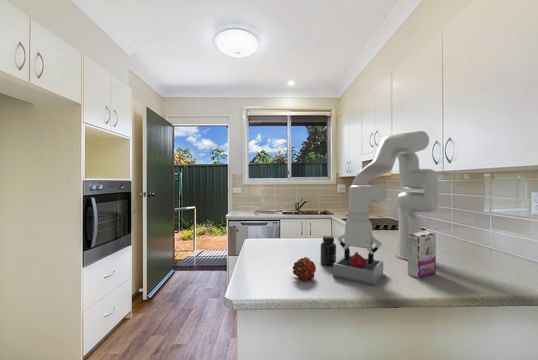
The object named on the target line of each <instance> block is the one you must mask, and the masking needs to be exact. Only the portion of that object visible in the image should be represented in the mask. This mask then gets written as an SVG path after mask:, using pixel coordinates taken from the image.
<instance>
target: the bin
mask: <svg viewBox="0 0 538 360" xmlns="http://www.w3.org/2000/svg"><path fill="white" fill-rule="evenodd" d="M352 256H353V255H350V258H351V257H352ZM350 258H349V259H348V260H345V257H344V256H342V257H340V258H339V259H337V260H336V262H335V263H334V264H333V266H332V277H333V278H336V279H341V280H344V281H348V282H349V281H350V282H354V283H358V284H362V285H365V286H366V285H367V286H371V287H375V285H376V284H377V283H378V281H379V280H380V278H382V276H383V275H384V260H379V259H373V262H372V263H371V264H370V265H369V264H368V257H367V258H366V257H363V258H364V260H365V267H364V268H363V269H360V268H355V267H351V266H350Z"/></svg>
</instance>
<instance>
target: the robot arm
mask: <svg viewBox="0 0 538 360" xmlns="http://www.w3.org/2000/svg"><path fill="white" fill-rule="evenodd" d="M429 144H430V138H429V135H428V133H427V132H426V131H423V130H419V131H410V132H409V131H408V132H402V133H397V134H394V135H393V134H391V135H387V136H384V137H383V138H382V139H381V141H380V143H379V145H378V147H377V150H376V152H375V155H374V157H373V159H372V161H371V163H369V164H368V165H366V166H365V167H364V168H363V169H361V170H360V171H359V172H358V173H357V174H356V176H355V177H354V179H353V181H352V183H351V186H349V188H348V212H345V214H344V216H345V217H348V219H346V220H345V225H344V226H345V227H344V234H343V235H340V236H338V237H337V242H339V244H340V246H341V247H342V249H343V250H344V251H343V252H344V254H343V255H344V256H343V257H345V260H348V259H349V258H350V256H351V251H350V250H351V249H350V247H355V248H363V249H366V250H367V251H368V253H367V258H368V264H369V265H370V264H371V263H372V262H373V260H375V259H374V257H375V256H374V254H375V253H376V252H377V251H378V250H379V249H380V248H381V247H382V244H383V243H382V242H380V241H379V240H378V239H376V238H375V237H374V236H373V235H374V233H373V225H372V222H371V220H370V204H381V203H383V202H384V201H385V199H386V198H387V191H386V188H384V187H383V186H382V185H379V184H368V183H369V182H370V181H372V180H374V179H376V178H378V177H381V176H384V175H386V174H388V173H390V172H391V171H393V167H394V165H395V162H396V159H398V160H397V161H398V166H399V167H398V169H399V170H398V173H399V175H398V176H399V185H400V187H402V188H403V189H404V190H405V189H406V190H423V192H419V191H403V192H400V193H398V195H397V197H396V205H397V206H396V207H397V212H398V251H395V252H394V256H395V257H396V258H398V259H402V260H406V261H408V238H407V234H410V233H416V232H422V221H421V218H420V216H419V215H418V213H422V214H435V213H436V212H437V211H438V210H439V205H440V204H439V201H440V199H439V178H438V174H437V172H436V171H435V170H433V169H430V168H420V161H419V160H420V159H419V156H418V155H417V152H422V151H424V150H426V149H427V148H428V146H429ZM373 243H374V244H376V245H375V246H374V247H373V245H374V244H373Z"/></svg>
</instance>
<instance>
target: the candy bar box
mask: <svg viewBox="0 0 538 360" xmlns="http://www.w3.org/2000/svg"><path fill="white" fill-rule="evenodd" d="M407 238H408V260H407V275H408V276H411V277H413V276H414V277H413V278H417V279H421V278H425V277H429V276H432V275H434V274H435V275H436V274H437V270H436V269H437V268H436V266H437V265H436V264H437V262H436V261H437V259H436V255H437V254H436V232H432V231H427V230H426V231H425V230H424V231H422V230H421V232H416V233H410V234H407Z"/></svg>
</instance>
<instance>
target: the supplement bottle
mask: <svg viewBox="0 0 538 360" xmlns="http://www.w3.org/2000/svg"><path fill="white" fill-rule="evenodd" d="M319 253H320V257H319V260H320V261H319V262H320V265H322V266H324V267H325V266H326V267H333V264H334V263H335V262H336V261H337V244H336V243H335V237H334V236H331V235H324V236H322V242H321V243H320V252H319Z"/></svg>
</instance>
